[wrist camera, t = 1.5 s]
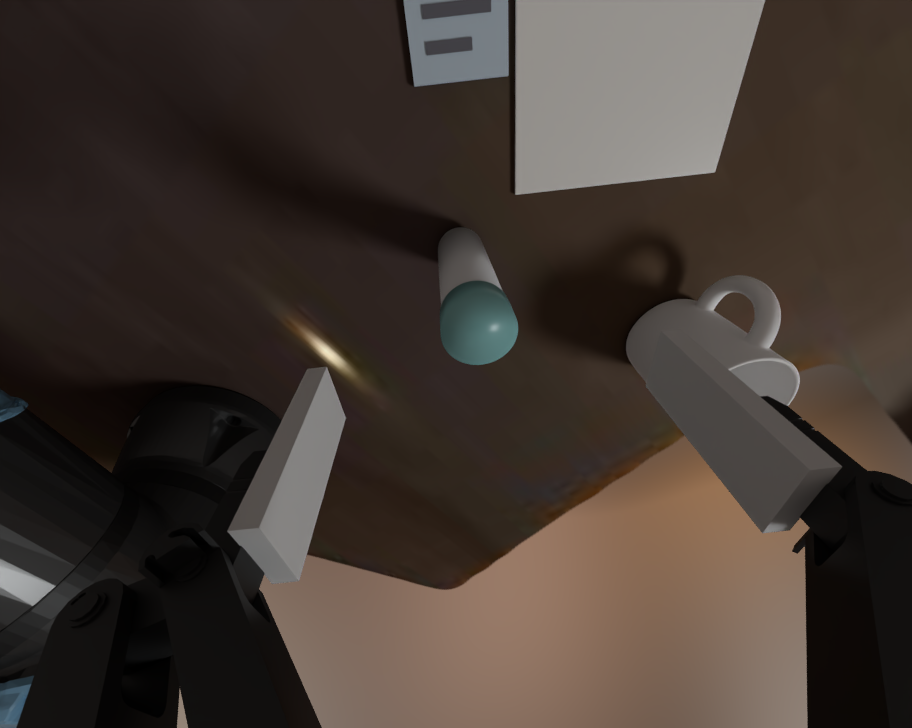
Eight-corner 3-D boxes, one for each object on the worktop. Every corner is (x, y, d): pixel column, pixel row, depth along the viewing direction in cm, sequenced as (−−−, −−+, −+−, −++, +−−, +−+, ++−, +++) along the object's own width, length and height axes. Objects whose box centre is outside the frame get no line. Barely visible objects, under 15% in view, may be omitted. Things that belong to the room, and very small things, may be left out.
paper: (514, 194, 27) (515, 194, 27) (515, -66, 19) (516, -68, 19) (712, 171, 27) (714, 172, 26) (789, -98, 19) (794, -100, 19)
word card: (414, 86, 23) (414, 86, 22) (400, -26, 20) (399, -29, 19) (507, 76, 23) (508, 75, 22) (506, -38, 20) (508, -41, 19)
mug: (670, 248, 30) (765, 299, 21) (752, 265, 31) (872, 319, 23) (608, 363, 37) (662, 437, 28) (678, 373, 38) (750, 446, 29)
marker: (439, 272, 30) (445, 368, 18) (433, 225, 28) (436, 301, 16) (483, 267, 30) (517, 360, 18) (481, 220, 28) (518, 292, 16)
